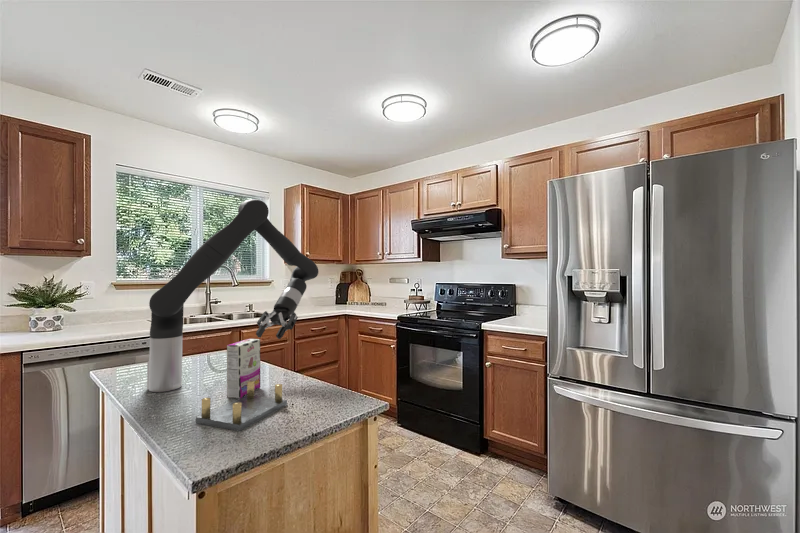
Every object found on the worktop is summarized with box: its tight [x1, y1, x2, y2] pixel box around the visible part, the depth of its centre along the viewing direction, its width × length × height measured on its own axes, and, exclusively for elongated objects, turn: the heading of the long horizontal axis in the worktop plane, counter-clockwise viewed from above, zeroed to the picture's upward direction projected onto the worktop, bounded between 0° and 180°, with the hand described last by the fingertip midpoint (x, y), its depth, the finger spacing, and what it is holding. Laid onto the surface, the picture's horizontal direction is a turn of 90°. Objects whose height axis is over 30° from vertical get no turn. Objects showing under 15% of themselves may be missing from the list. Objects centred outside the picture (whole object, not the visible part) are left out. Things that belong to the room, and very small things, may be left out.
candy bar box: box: [226, 338, 261, 399], centre depth 116 cm, size 11×5×16 cm, turn 168°
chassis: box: [195, 381, 288, 432], centre depth 99 cm, size 14×18×6 cm
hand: (267, 336), depth 127 cm, fingers open, 8 cm apart
